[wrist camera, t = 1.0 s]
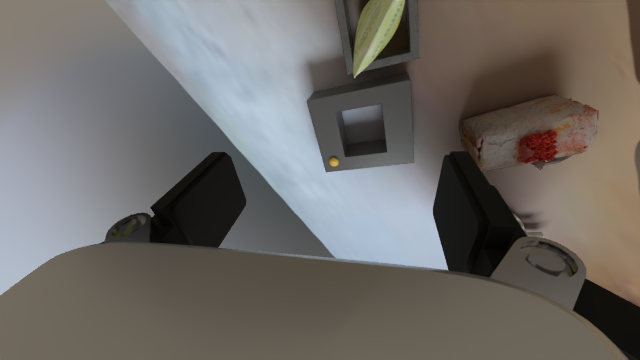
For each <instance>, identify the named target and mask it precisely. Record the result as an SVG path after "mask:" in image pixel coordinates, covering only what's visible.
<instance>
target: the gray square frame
mask: <svg viewBox="0 0 640 360" xmlns="http://www.w3.org/2000/svg"><path fill="white" fill-rule="evenodd" d="M405 1H406V22H407V42H408V49H404V50H400V51H396V52H392V53H388V54H384V55H379V56H377V57H376V58H375V59H374V60H373V61H372V62H371V63H370V64H369V65H368V66H367V67H366V68H365V69H364V70H363V71H367V70H372V69H376V68H380V67H385V66H389V65H394V64H398V63H402V62H407V61H411V60H416V59H419V35H418V0H405ZM335 6H336V12H337V17H338V23H339V29H340V34H341V40H342V46H343V52H344V57H345V63H346V69H347V75H349V74H353V61H354V48H353V42H352V35H351V29H350V22H349V16H348V9H347V3H346V0H335ZM363 71H362V72H363Z"/></svg>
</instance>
